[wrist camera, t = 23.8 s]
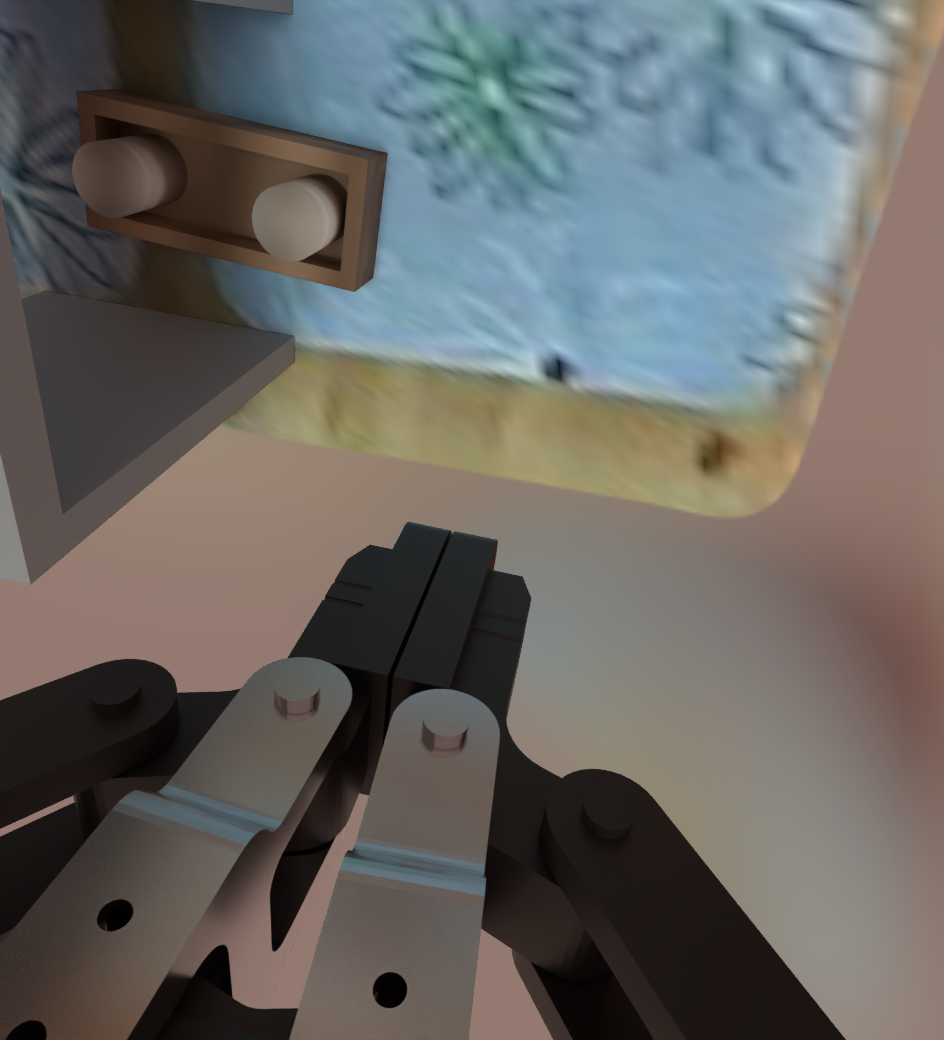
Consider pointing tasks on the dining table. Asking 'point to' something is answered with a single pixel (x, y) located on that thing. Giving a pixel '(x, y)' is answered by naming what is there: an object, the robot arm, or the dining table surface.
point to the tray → (229, 187)
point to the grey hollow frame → (106, 401)
